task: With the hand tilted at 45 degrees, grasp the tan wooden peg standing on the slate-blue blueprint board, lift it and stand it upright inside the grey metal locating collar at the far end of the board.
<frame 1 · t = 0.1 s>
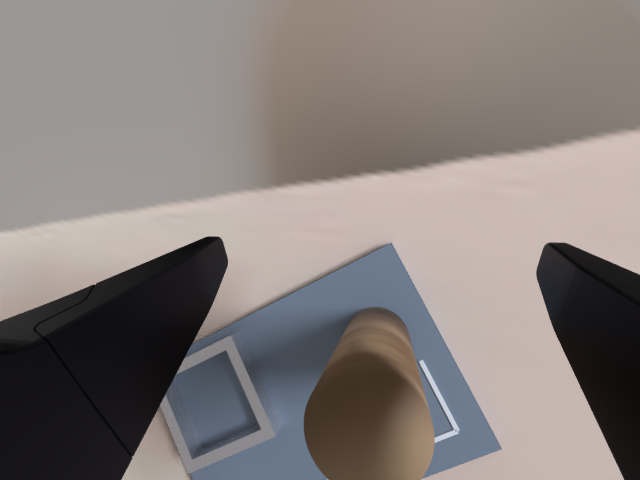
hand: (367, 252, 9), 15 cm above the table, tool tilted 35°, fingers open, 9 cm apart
metal collar: (219, 396, 25), resting on blueprint board
tan wooden peg: (377, 338, 23), point 1 cm above the table, touching blueprint board
blueprint board: (306, 397, 25), on the table
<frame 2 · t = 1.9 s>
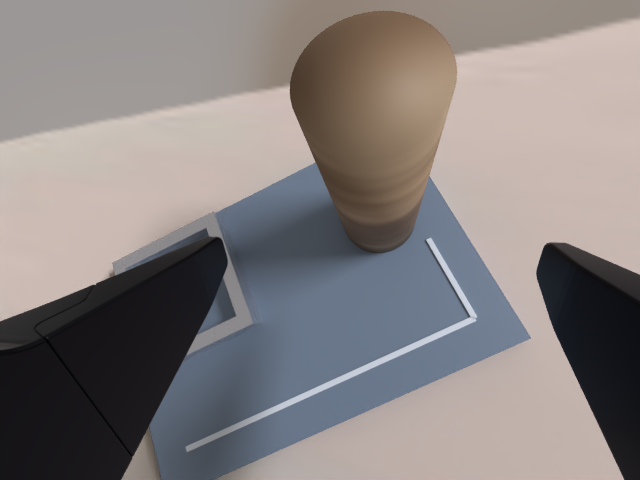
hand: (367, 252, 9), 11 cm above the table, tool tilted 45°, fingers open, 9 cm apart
metal collar: (191, 293, 21), resting on blueprint board
tan wooden peg: (378, 218, 20), point 1 cm above the table, touching blueprint board
blueprint board: (294, 297, 21), on the table
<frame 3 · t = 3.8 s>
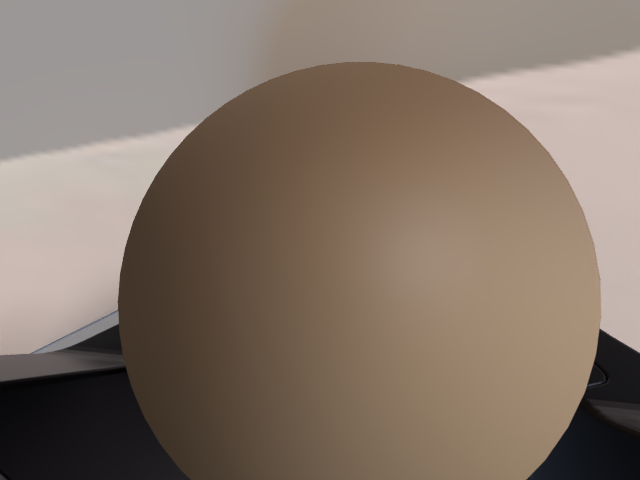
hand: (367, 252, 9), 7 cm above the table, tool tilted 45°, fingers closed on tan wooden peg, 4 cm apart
metal collar: (119, 405, 16), resting on blueprint board
tan wooden peg: (373, 310, 14), point 1 cm above the table, touching blueprint board, gripper
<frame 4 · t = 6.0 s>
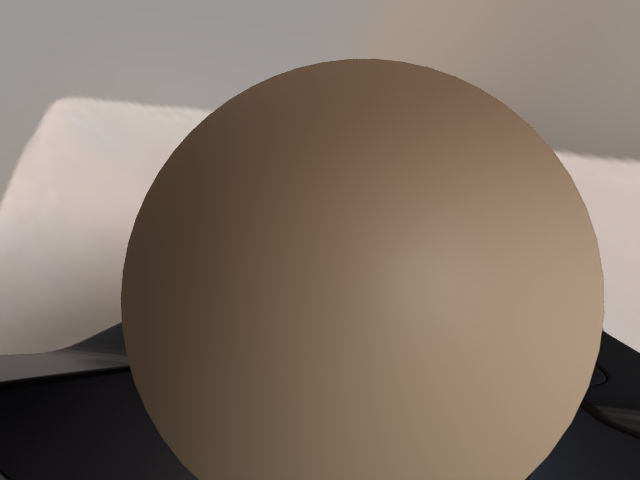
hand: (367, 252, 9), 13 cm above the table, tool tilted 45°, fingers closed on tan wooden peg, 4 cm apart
tan wooden peg: (373, 309, 14), point 8 cm above the table, touching gripper
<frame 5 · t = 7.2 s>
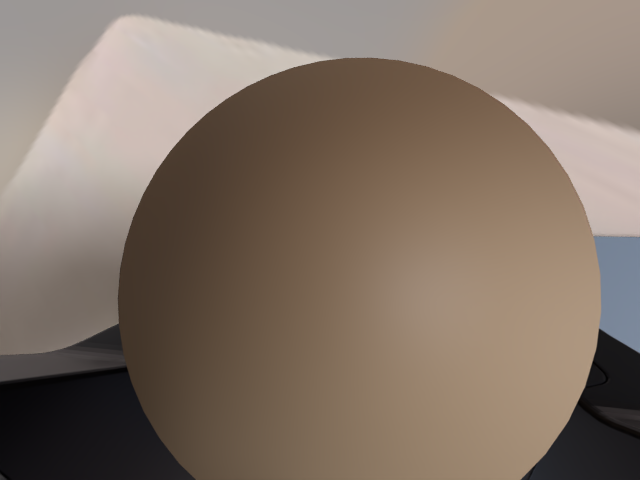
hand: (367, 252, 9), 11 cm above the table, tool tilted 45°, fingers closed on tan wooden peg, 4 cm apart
tan wooden peg: (373, 309, 14), point 5 cm above the table, touching gripper
blueprint board: (488, 375, 17), on the table
when the fingers open (7 cm above the table, at t = 8.3 s): tan wooden peg stays where it is, resting on blueprint board.
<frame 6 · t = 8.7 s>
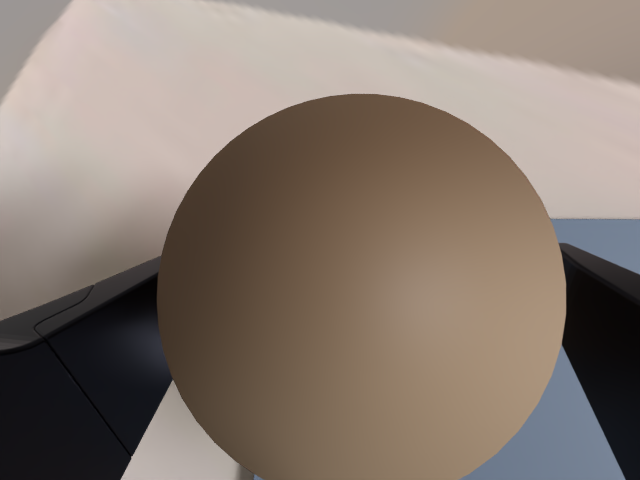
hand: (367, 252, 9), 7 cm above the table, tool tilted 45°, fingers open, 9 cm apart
tan wooden peg: (373, 311, 15), point 1 cm above the table, touching blueprint board
blueprint board: (513, 391, 14), on the table
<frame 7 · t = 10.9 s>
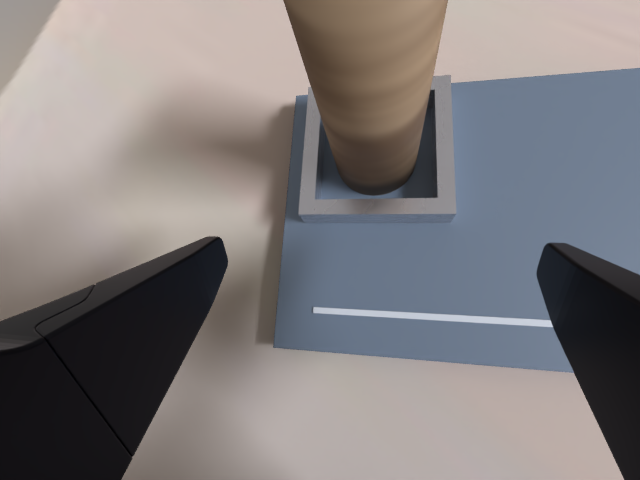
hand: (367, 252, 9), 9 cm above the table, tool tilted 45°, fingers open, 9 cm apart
metal collar: (375, 158, 18), resting on blueprint board
tan wooden peg: (375, 158, 18), point 1 cm above the table, touching blueprint board
blueprint board: (490, 214, 17), on the table
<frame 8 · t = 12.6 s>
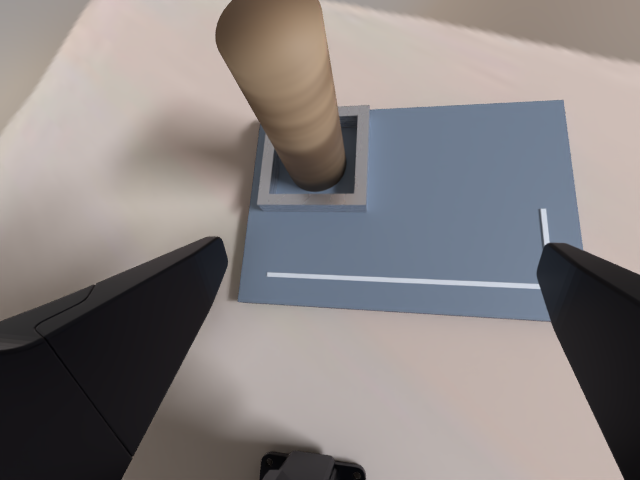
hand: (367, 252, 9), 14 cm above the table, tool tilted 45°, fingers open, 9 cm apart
metal collar: (317, 164, 24), resting on blueprint board
tan wooden peg: (317, 164, 24), point 1 cm above the table, touching blueprint board
blueprint board: (398, 206, 23), on the table
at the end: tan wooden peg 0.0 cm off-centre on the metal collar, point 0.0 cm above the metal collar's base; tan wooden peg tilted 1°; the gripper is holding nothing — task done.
